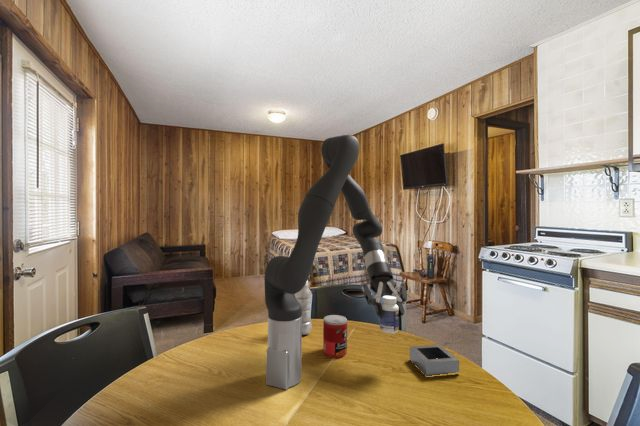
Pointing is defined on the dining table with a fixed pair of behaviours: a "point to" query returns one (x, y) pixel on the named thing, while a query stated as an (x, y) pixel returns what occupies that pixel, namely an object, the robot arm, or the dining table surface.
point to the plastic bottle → (305, 308)
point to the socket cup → (434, 360)
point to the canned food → (335, 336)
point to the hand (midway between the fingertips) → (391, 316)
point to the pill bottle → (389, 315)
